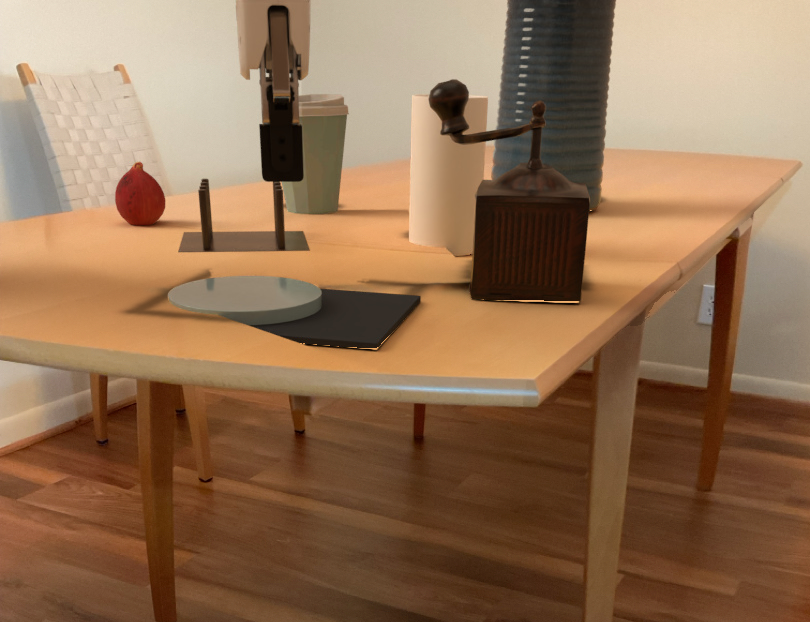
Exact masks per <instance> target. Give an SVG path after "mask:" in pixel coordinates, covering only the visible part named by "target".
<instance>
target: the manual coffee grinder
mask: <svg viewBox="0 0 810 622" xmlns="http://www.w3.org/2000/svg"><path fill="white" fill-rule="evenodd" d="M429 94H430V95H429V99H428V100H429V104H430V107H431V108H432V109H433V110H434V112H435V113H436V114H437V115H438V116H439V118H440V119H441V121H442V129H441V131H440V134H441V135H448V136H450V137H451V140H453V141H454V142H455V143H458V144H461V145H467V144H475V143H480V142H486V143H487V142H492V141H494V140H498V139H504V138H510V137H516V136H520V135H522V134H524V133H526V132H528V131H530V130H532V138H531V152H530V159H529V161H528V163H520V164H519V165H518V166H516V167H515V168H513V169H511V170H509V171H508V172H506V173H504V174H502V175H501V176H500V177H499V178H498V179H497V180H492V179H484V180H482V181H481V183H480V185H479V187H478V190H477V192H476V194H475V199H476V207H475V222H474V238H473V254H471V270H470V280H469V281H470V282H469V284H468V285H469V286H468V292H470V293H469V295H471V296H470V299H471V298H472V299H471V300H474V299H484V300H544V301H580V302H581V300H582V297H583V291H582V286H583V278H584V269H585V262H586V261H585V260H586V258H585V257H586V250H587V249H586V248H587V239H588V229H589V228H588V227H589V217H590V215H589V214H590V212H589V205H590V197H589V193H588V190H587V187H586V185H585V183H574V182H571V181H569V180H568V179H567V178H566V177H564V176H563V175H562V174H561V173H560V172H558V171H556V170H555V169H554V168H553V167H551V166H550V165H547V164H542V161H541V159H540V150H541V137H542V128H543V127H544V126H546V121H545V119H544V117H543V115H544V113H545V110H546V105H545V104H544V102H542V101H537V102H534V104H533V105H532V107H531V109H532V114H533V117H532V118H531V119H530V123H529V124H525V125H521V126H518V127H515V128H506V129H499V130H495V129H493V130H486V132H480V133H474V134H467V135H463V132H465V131H466V130H468V129H469V125H468V124H467V122H466V120H465V118H464V110H465V106H466V104H467V102H468V99H469V95H470V91H469V89H468V86H467V85H466V84H465V83H463V82H462V81H460V80H458V79H456V78H455V79H454V78H452V79H449V80H445V81H442V82H438V83H437V84H436V85H435V86H434V87H433V88H432V89H431V90H430V92H429Z"/></svg>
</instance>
